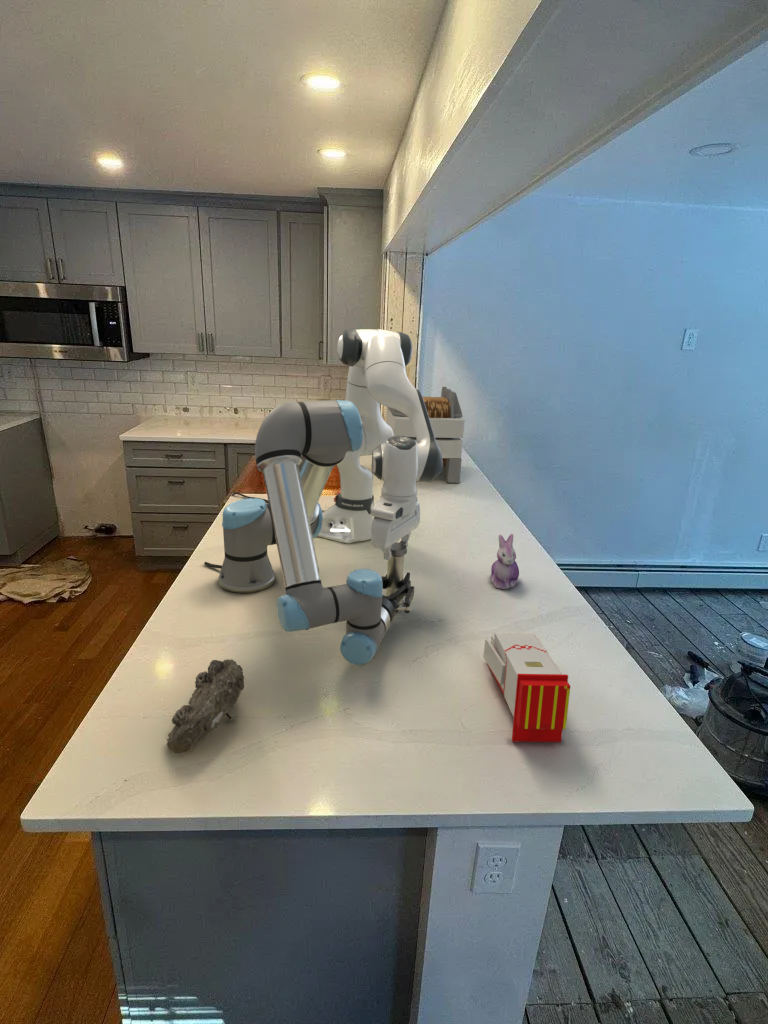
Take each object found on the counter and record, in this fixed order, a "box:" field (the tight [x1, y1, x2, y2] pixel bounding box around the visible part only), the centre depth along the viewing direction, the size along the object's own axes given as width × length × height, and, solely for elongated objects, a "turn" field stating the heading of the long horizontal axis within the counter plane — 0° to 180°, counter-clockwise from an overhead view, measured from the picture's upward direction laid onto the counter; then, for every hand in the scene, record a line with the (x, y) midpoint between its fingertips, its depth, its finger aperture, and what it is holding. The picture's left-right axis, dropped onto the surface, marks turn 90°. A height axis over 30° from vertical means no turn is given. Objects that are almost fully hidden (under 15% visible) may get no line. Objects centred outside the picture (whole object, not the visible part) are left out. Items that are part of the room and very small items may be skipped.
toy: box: [482, 632, 571, 743], centre depth 116 cm, size 12×13×30 cm
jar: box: [385, 555, 405, 605], centre depth 148 cm, size 4×4×17 cm
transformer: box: [385, 386, 465, 484], centre depth 268 cm, size 34×33×41 cm
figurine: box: [490, 533, 520, 590], centre depth 164 cm, size 9×10×15 cm
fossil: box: [166, 658, 245, 754], centre depth 106 cm, size 22×10×15 cm
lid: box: [390, 541, 408, 557], centre depth 146 cm, size 5×5×2 cm
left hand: (399, 575), depth 154 cm, fingers closed on jar, 4 cm apart
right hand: (395, 553), depth 146 cm, fingers open, 7 cm apart
